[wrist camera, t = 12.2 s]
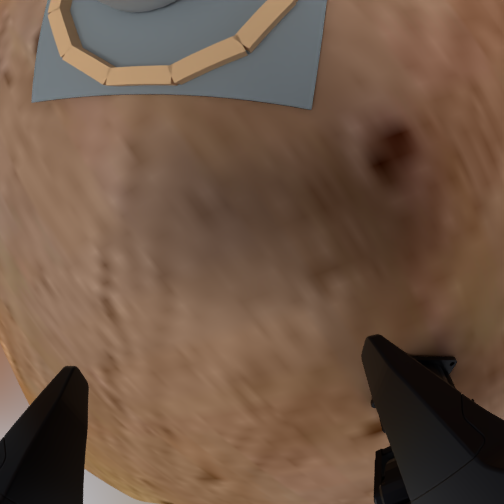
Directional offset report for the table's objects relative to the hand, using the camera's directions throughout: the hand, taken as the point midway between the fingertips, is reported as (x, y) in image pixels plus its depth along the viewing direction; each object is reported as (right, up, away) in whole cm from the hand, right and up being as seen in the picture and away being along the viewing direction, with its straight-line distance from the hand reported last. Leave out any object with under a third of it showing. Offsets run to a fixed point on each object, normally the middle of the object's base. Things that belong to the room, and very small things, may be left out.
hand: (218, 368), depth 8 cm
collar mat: (-4, +19, +3) cm, 20 cm away
